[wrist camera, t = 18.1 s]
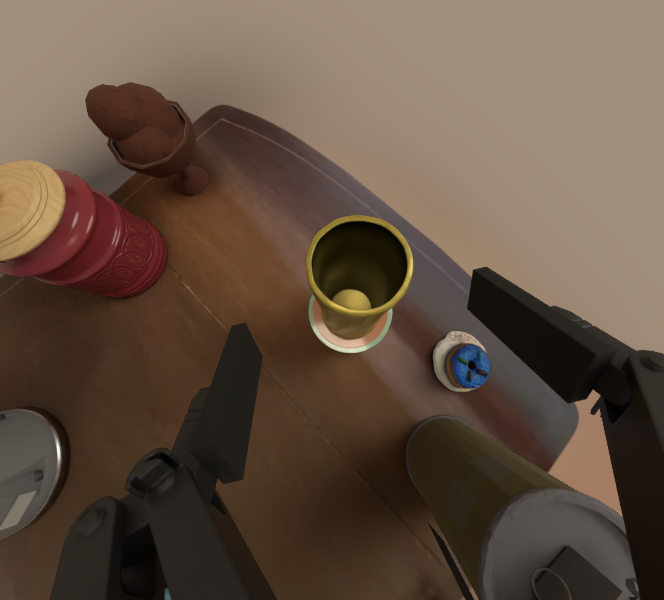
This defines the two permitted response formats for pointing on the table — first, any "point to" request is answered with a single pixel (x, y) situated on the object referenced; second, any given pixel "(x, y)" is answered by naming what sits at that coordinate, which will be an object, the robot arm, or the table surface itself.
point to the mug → (346, 344)
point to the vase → (357, 273)
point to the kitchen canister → (73, 234)
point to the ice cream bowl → (147, 133)
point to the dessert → (461, 362)
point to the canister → (516, 521)
